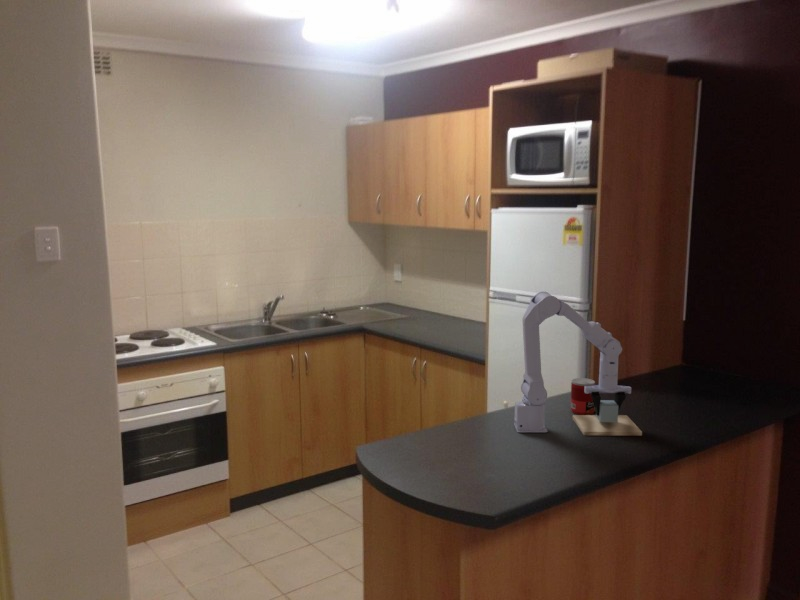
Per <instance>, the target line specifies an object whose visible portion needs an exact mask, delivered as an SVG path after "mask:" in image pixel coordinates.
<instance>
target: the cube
mask: <svg viewBox="0 0 800 600" xmlns="http://www.w3.org/2000/svg"><path fill="white" fill-rule="evenodd" d="M595 415H596V414H595ZM618 415H619V412H618V405H617V404H616V402H615V401H614V399H609V400H608V399H606V400H605V399H603V400H602V399H601V400H600V411H599V416H597V415H596V417H597V419H598V420H599V421H600V422H618Z"/></svg>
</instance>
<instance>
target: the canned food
mask: <svg viewBox="0 0 800 600" xmlns="http://www.w3.org/2000/svg"><path fill="white" fill-rule="evenodd" d="M594 385H596V381H595V380H593V379H591V378H586V377H576V378H573V379H571V385H570V386H571V387H570V389H571V390H570V410H571V412H572V413H573V414H574V415H594V412H595V406H594V403H593V400H592V397H591V395H590V393H589V394H586V393H585V392H584V386H594Z"/></svg>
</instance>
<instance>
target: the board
mask: <svg viewBox="0 0 800 600" xmlns="http://www.w3.org/2000/svg"><path fill="white" fill-rule="evenodd" d="M572 420H573V421H574V423H575V424H576V426H577V427H578V429H579V430H580V432H581V433H582V435H583V436H639V437H640V436H643V431H642V430H641V429H640V428H639V427H638V426H637V425H636V423H634V421H633V420H631V418H630V417H629V416H628V415H626V414H625V415H624V414H618V422H600V421H599V420H598V419H597V417H596V414H591V415H579V414H572Z"/></svg>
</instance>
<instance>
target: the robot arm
mask: <svg viewBox="0 0 800 600" xmlns="http://www.w3.org/2000/svg"><path fill="white" fill-rule="evenodd" d="M553 316H558V317H559V316H560V317H562V316H563V317H565V318H566V319H568V321H570V322H571V323H573V324H574V325H575V326H576V327H578V328H579V329H580V331H581V335H582V337H583V338H585V339H586V340H587V341H589V343H591V344H592V345H593V346H594V347H596V348H597V349H598V351H599V353H600V354H599V355H600V356H599V370H598V371H599V372H598V373H599V374H598V384H595V385H594V386H584V392H585V393H586V394H589V393H590V395H591V397H592V400H593V403H594V412H595V415H597V416H599V411H600V400H602V397H601V396H600V395H601V394H613V397H614V399H613V400H614V401H615V402H616V404H617V405H618V413H619V412H620V410H621V406H622V405H623V402H624V401H625V400H626V398H627V394H628V395H630V394H632V387H631V386H629V385H627V386H626V385H618V378H619V375H618V374H619V355H621V354H622V352H623V347H622V344H621V341H619V340H618V339H616V338H615V337H613V334H612V333H611V332H609V331H606V330H605V329H604V328H602V324H601V323H600V322H598V321H597V322H595V321H593V320H591V321H587V320H586V319H585V318H584V317H583V316H582V315H581V314H580V313H579V312H578V311H576V310H575V309H574V308H573V307H572V306H570V305H569V304H568V303H567V302H564V301H562V300H561V299H559V298H558V297H556V296H554V295H552V294H551V293H549V292H547V291H540V292H537V293H536V294H535V295H533V297H531V298H530V301H529V304H528V306H527V308H526V310H525V313H524V314H523V315H522V332H523V333H522V334H523V337H522V338H523V353H524V354H523V356H524V357H523V358H524V374H523V376H522V377H523V379H522V383H521V386H520V390H521V393H522V394H523V397H522V398H521V399H522V400H521V401H517V402H515V403H514V423H513V425H514V427H515V429H516V433H548V429H547V428H546V426H545V419H546V417H545V414H546V400H547V398H548V392H547V389H546V388H545V385H544V383H545V382H544V378H543V375H542V363H541V362H542V361H541V360H542V359H541V339H540V325H541V324H542V323H543V322H544V321H546V320H547V319H549V318H551V317H553Z"/></svg>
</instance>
